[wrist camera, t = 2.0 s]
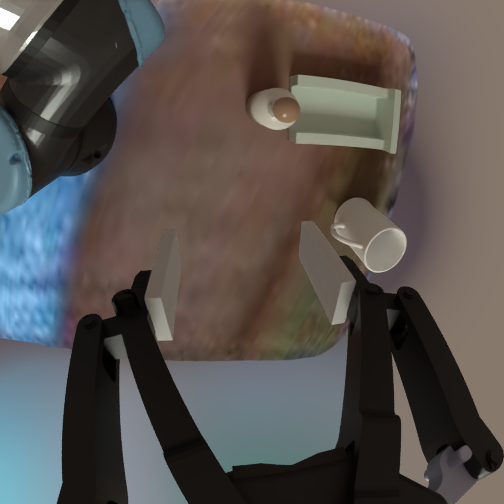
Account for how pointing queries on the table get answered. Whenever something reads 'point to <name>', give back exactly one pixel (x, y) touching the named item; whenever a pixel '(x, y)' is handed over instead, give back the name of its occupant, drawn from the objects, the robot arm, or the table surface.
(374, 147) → the cradle
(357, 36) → the table surface
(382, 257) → the mug
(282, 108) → the bottle
